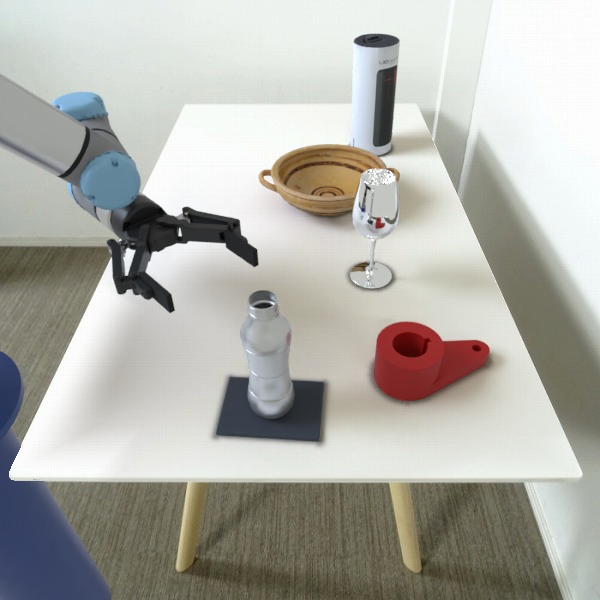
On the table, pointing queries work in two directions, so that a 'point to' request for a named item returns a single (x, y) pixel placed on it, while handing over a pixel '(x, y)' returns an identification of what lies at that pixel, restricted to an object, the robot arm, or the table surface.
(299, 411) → the mat
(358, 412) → the table surface
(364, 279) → the wineglass
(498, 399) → the table surface
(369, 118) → the speaker
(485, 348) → the lever
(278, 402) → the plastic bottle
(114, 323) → the table surface
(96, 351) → the table surface
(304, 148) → the ceramic bowl
